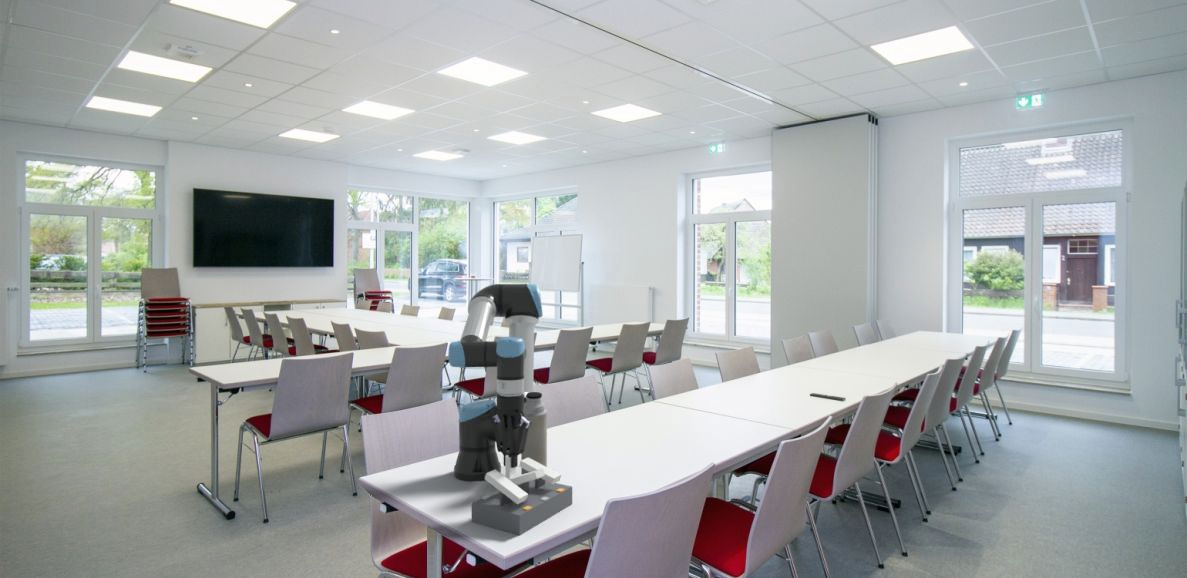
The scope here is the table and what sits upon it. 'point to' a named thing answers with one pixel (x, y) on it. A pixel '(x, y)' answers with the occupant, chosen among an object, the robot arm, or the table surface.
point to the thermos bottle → (535, 429)
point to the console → (522, 506)
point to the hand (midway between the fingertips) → (510, 478)
